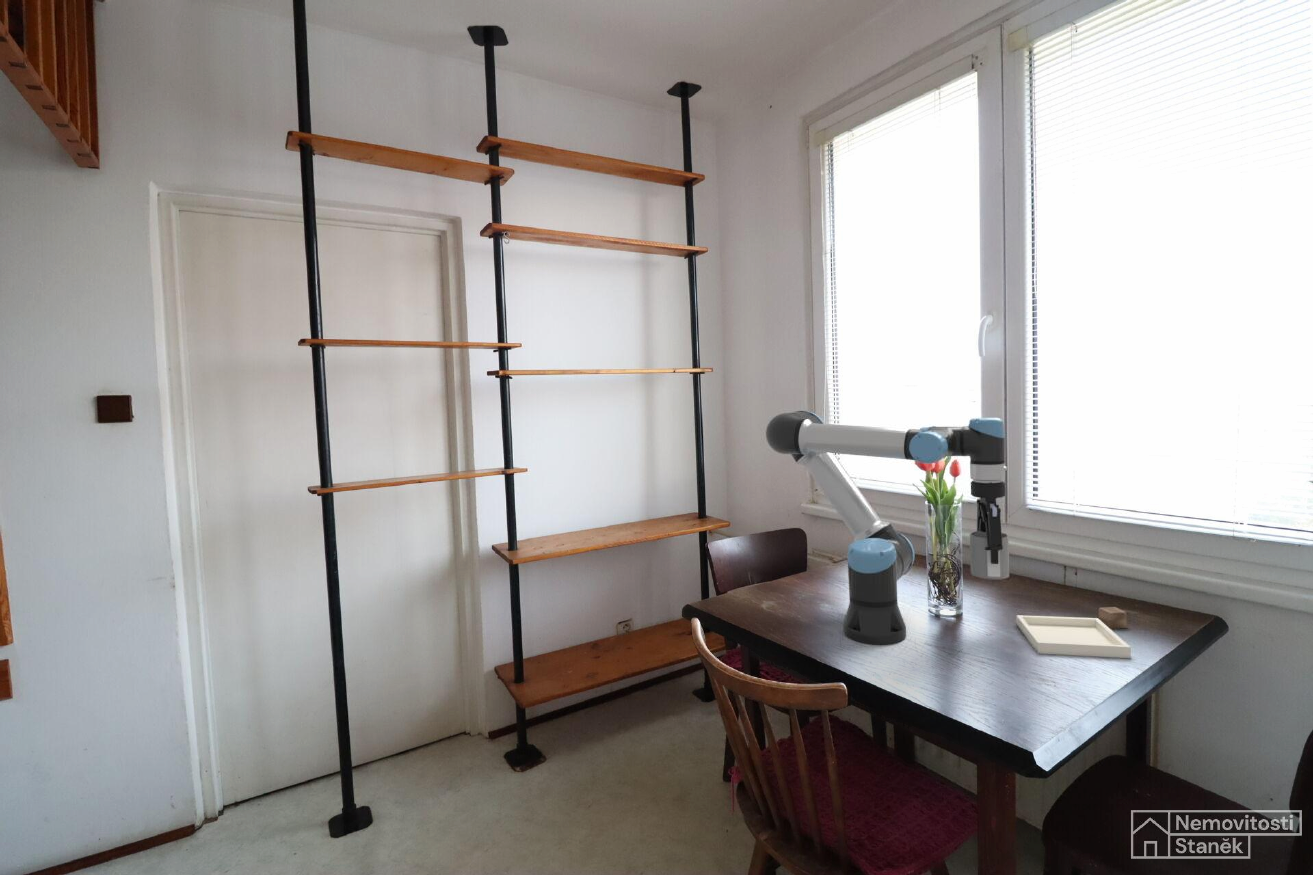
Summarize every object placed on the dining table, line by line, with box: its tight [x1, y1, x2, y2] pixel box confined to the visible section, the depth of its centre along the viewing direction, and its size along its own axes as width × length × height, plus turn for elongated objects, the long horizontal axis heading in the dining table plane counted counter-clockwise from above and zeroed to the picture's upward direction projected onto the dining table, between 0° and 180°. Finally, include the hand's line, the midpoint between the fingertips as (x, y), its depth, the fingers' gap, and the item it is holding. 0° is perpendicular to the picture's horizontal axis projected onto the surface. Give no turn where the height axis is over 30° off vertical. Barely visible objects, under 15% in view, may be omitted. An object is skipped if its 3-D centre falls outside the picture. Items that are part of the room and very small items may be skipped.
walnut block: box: [1098, 606, 1128, 630], centre depth 154 cm, size 4×4×4 cm
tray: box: [1016, 614, 1132, 659], centre depth 147 cm, size 18×18×2 cm
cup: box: [969, 530, 1010, 580], centre depth 153 cm, size 8×8×10 cm
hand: (989, 570), depth 153 cm, fingers closed on cup, 8 cm apart
